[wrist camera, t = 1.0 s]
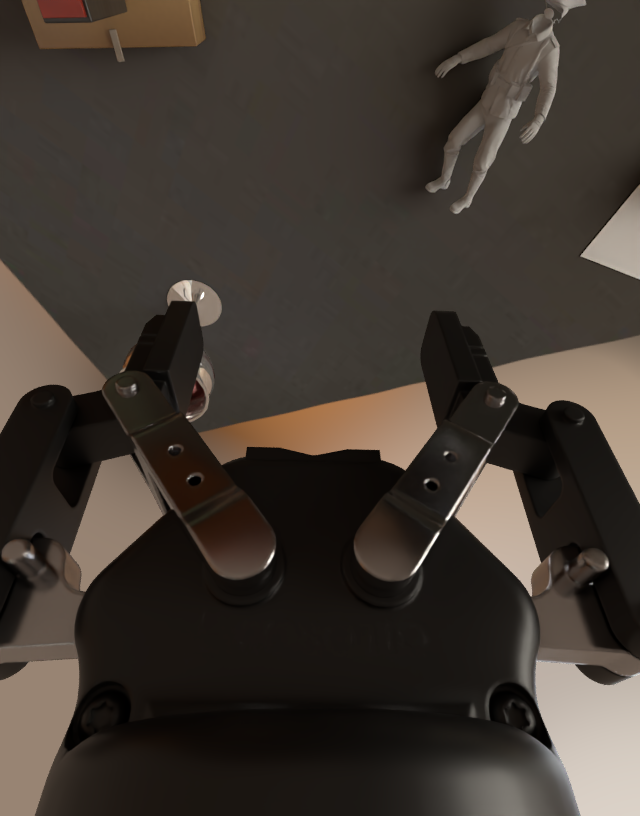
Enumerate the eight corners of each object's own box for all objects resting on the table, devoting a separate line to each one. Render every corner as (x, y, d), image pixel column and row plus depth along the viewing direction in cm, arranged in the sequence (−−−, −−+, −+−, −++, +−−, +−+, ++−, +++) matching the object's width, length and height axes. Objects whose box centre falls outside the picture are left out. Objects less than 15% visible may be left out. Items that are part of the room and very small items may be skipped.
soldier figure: (395, 166, 33) (471, -50, 22) (436, 146, 35) (523, -61, 24) (469, 231, 31) (591, 31, 20) (508, 207, 33) (637, 12, 22)
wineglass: (231, 276, 38) (208, 364, 30) (231, 337, 43) (211, 428, 35) (152, 266, 38) (105, 354, 29) (161, 329, 42) (123, 420, 34)
